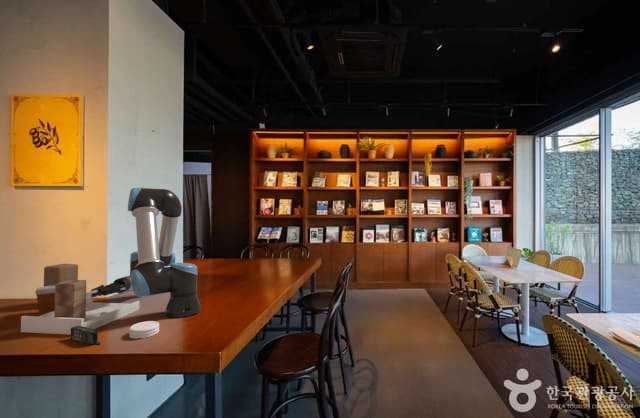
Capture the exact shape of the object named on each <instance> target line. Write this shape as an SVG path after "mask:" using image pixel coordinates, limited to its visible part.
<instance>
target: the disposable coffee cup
mask: <svg viewBox="0 0 640 418" xmlns="http://www.w3.org/2000/svg"><path fill="white" fill-rule="evenodd" d="M34 293H35V294H36V301H37V307H38V314H39V315H38V316H41V315H44V314H47V313H50V312H53V311H55V285H52V286H44V285H43V286H40V287H37V288H36V290H35V292H34Z"/></svg>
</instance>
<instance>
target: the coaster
mask: <svg viewBox="0 0 640 418" xmlns="http://www.w3.org/2000/svg"><path fill="white" fill-rule="evenodd" d="M128 332H129V335H128V337H129V338H130V339H132V338H133V339H132V340H139V339H138V338H143V339H147V338H146V337H148V338H151V337H154V336H155V334H156V335H157V334H158V333H159V332H160V323H159V321H155V320H147V321H141V322H138V323H134V324H132V325H131V326H130V327H129V330H128ZM153 335H154V336H153ZM150 336H151V337H150Z"/></svg>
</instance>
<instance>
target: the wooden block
mask: <svg viewBox="0 0 640 418" xmlns="http://www.w3.org/2000/svg"><path fill="white" fill-rule="evenodd" d="M68 280H79V264H77V263H59V264H53V265H47V266H44V268H43V287H44V286H52V285H55V284H58V283H61V282H65V281H68Z"/></svg>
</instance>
